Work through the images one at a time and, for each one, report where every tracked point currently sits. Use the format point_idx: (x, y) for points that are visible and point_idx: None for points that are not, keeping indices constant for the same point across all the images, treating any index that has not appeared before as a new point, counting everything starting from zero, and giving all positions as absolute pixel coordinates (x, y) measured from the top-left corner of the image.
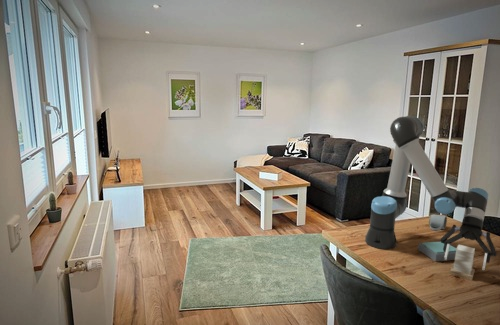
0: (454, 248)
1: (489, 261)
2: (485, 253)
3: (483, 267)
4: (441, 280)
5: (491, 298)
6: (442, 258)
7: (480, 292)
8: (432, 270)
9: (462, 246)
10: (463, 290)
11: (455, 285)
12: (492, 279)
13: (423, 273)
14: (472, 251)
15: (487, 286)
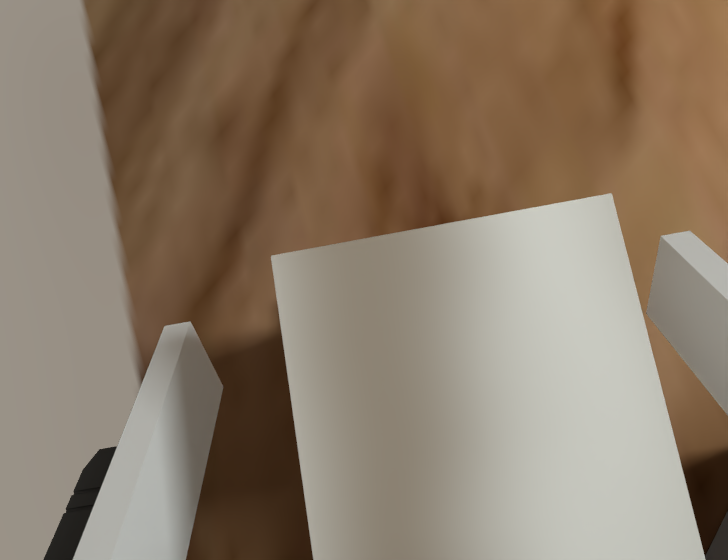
0: None
1: (96, 476)
2: (105, 550)
3: (178, 324)
4: (514, 51)
5: (123, 92)
6: None
7: (207, 118)
8: (668, 179)
9: (580, 495)
10: (316, 36)
11: (392, 64)
12: None
13: (694, 43)
14: (314, 362)
15: (186, 281)
